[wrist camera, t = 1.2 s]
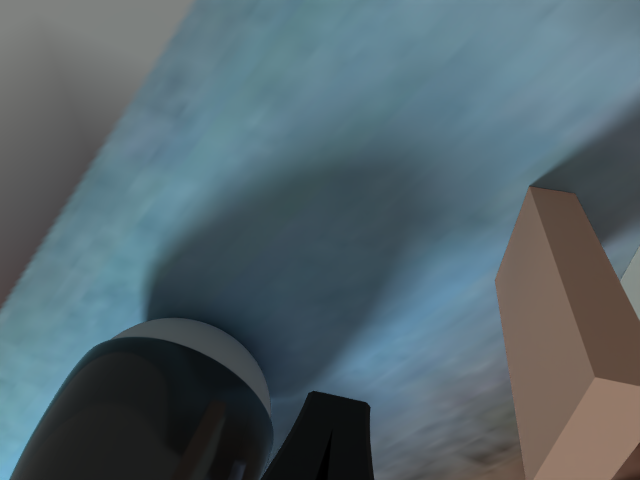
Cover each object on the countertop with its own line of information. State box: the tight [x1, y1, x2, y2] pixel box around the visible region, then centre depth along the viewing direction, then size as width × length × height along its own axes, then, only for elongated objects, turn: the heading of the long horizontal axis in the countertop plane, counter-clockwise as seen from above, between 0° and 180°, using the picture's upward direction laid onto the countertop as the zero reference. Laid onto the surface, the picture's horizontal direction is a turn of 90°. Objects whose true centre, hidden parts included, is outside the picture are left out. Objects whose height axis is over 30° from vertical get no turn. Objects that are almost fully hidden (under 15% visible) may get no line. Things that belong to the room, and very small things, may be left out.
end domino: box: [495, 186, 640, 480], centre depth 15 cm, size 2×4×9 cm, turn 176°
